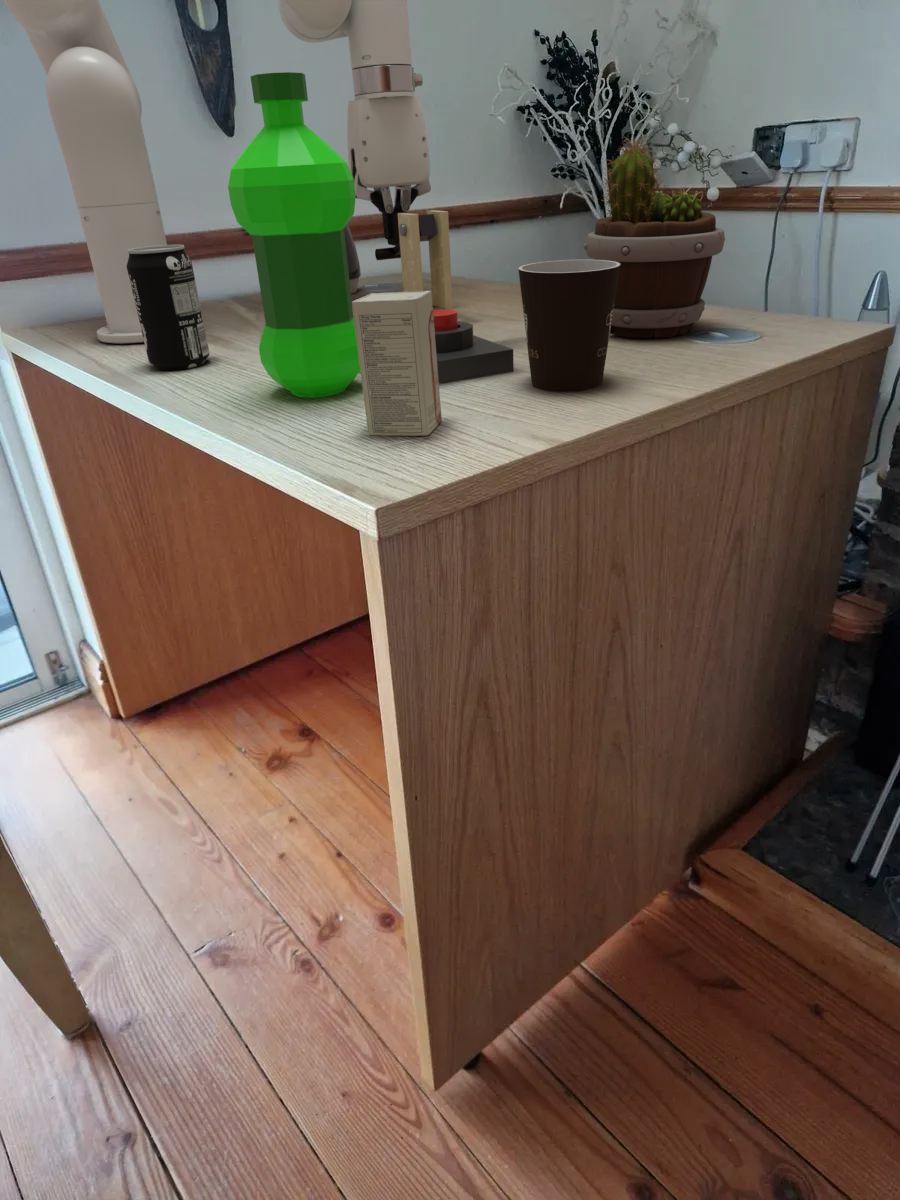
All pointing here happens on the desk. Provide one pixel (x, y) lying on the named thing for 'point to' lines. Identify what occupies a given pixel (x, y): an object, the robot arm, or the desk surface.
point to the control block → (469, 355)
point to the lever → (425, 231)
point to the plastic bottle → (298, 242)
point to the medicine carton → (398, 362)
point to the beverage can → (168, 306)
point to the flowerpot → (653, 249)
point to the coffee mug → (568, 321)
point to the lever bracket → (437, 254)
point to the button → (445, 320)
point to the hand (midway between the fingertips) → (397, 244)
